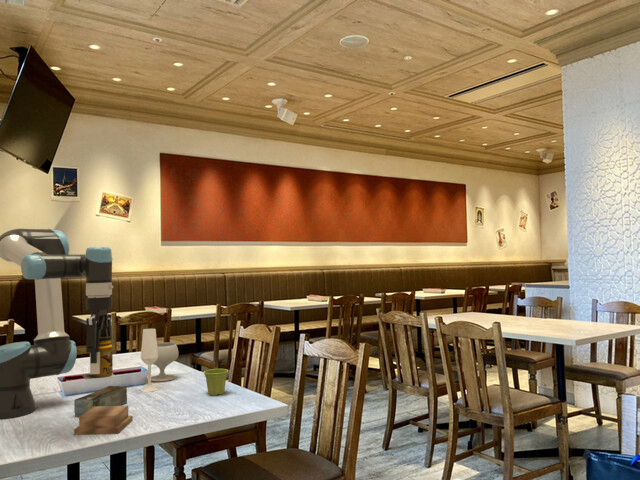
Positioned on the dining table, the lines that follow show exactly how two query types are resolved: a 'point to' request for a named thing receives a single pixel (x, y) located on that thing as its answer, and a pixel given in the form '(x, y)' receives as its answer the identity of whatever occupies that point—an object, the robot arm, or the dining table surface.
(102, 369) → the condiment
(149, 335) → the champagne flute
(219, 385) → the plant pot
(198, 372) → the dining table surface
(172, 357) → the chalice
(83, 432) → the walnut plinth
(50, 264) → the robot arm
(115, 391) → the beverage carton
